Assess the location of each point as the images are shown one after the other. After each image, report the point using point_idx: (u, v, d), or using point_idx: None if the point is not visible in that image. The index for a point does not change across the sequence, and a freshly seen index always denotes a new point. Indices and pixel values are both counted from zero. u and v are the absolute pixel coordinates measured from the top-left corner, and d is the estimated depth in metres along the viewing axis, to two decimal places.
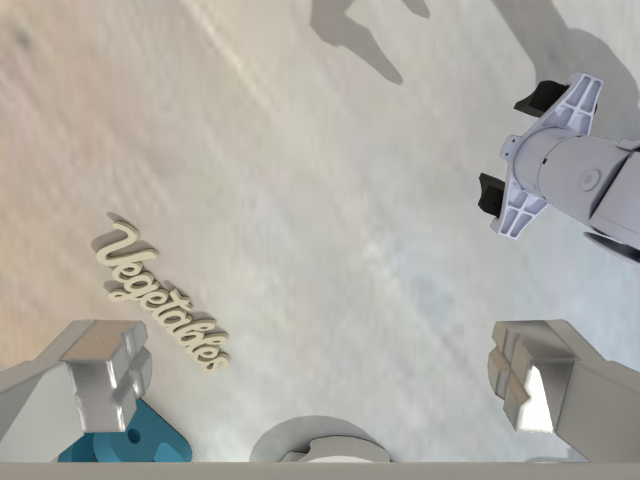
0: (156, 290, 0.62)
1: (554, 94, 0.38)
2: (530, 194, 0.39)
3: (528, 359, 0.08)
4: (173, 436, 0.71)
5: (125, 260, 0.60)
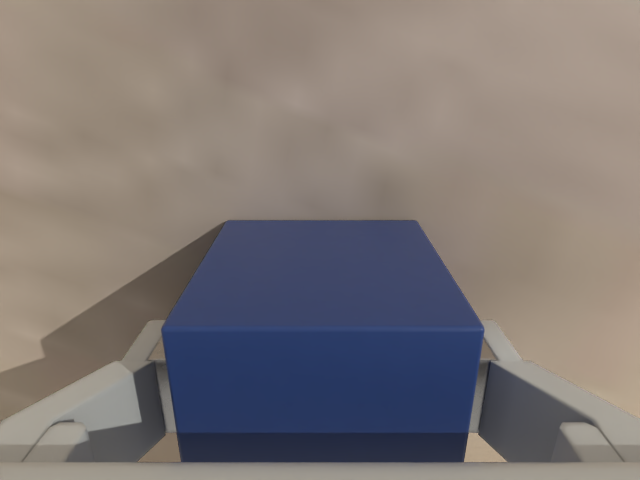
0: None
1: None
2: None
3: None
4: None
5: None
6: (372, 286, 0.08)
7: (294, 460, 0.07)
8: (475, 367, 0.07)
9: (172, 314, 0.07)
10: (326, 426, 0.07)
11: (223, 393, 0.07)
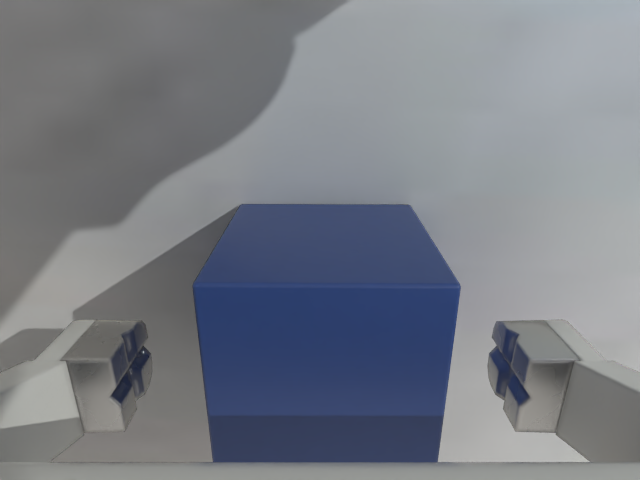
0: None
1: None
2: None
3: (528, 359, 0.08)
4: None
5: None
6: (368, 256, 0.09)
7: (301, 401, 0.09)
8: (453, 319, 0.08)
9: (201, 274, 0.08)
10: (328, 370, 0.09)
11: (243, 341, 0.08)
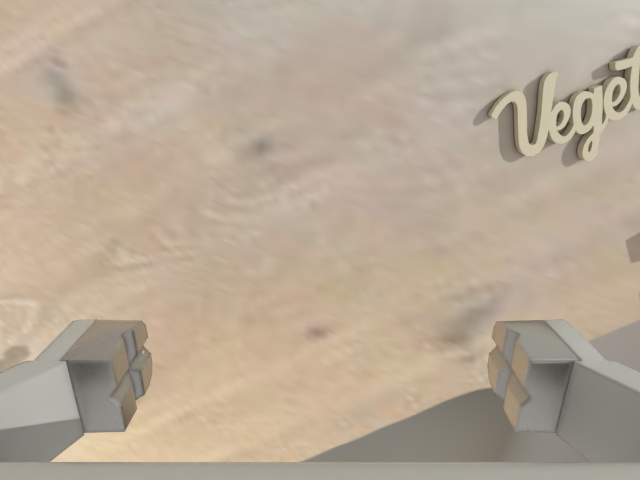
0: (603, 90, 0.43)
1: None
2: None
3: (528, 359, 0.08)
4: None
5: (546, 117, 0.44)
6: None
7: None
8: None
9: None
10: None
11: None
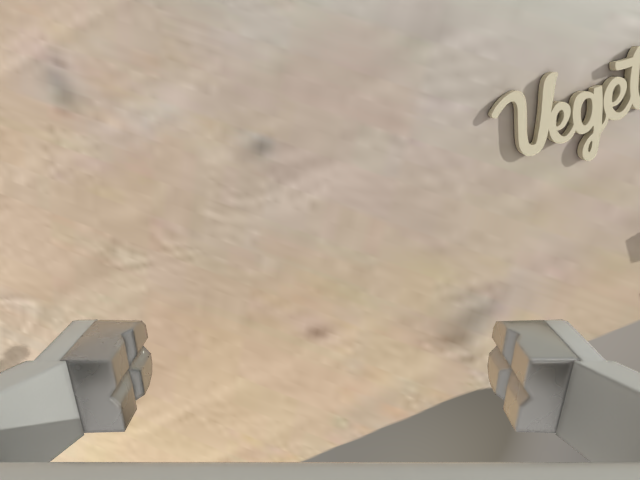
0: (603, 90, 0.43)
1: None
2: None
3: (528, 359, 0.08)
4: None
5: (546, 117, 0.44)
6: None
7: None
8: None
9: None
10: None
11: None
